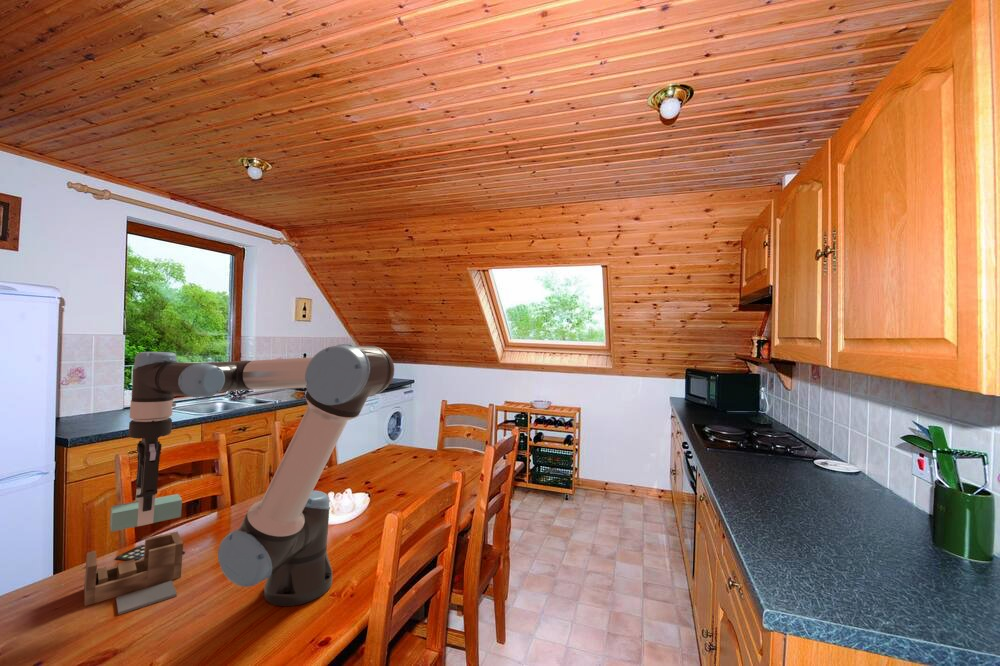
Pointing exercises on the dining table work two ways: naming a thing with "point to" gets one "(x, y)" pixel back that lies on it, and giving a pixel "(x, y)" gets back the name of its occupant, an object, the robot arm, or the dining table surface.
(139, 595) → the slate pad
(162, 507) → the teal block
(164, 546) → the walnut jig
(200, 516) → the dining table surface
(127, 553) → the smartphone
